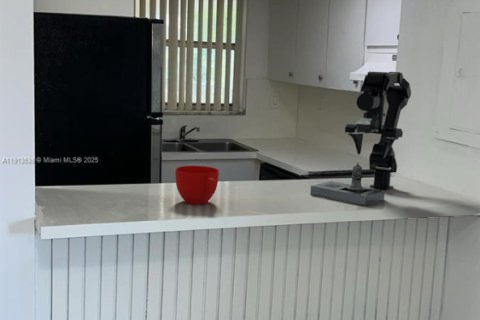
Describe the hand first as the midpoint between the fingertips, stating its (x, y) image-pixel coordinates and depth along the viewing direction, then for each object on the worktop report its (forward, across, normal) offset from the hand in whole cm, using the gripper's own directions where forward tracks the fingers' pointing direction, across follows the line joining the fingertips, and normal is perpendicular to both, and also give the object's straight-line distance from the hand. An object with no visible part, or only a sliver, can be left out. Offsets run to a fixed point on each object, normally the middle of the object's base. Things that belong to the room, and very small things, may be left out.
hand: (371, 156), depth 202 cm
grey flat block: (+13, -2, -11) cm, 17 cm away
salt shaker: (+13, +1, -11) cm, 17 cm away
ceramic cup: (+13, -27, -55) cm, 63 cm away
